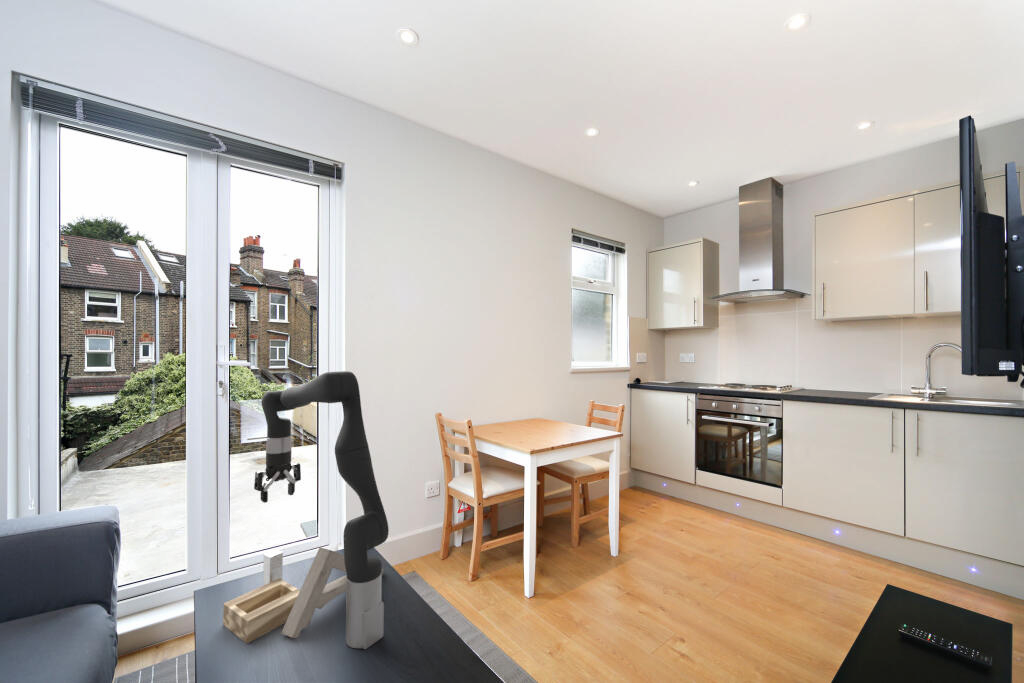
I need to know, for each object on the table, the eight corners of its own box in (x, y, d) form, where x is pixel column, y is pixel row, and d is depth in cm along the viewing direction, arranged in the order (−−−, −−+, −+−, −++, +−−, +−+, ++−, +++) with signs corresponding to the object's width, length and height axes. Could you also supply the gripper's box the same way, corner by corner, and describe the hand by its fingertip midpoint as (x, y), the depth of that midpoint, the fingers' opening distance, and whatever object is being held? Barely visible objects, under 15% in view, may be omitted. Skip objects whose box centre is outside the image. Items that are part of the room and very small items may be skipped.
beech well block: (303, 612, 127) (304, 592, 127) (247, 643, 113) (247, 621, 113) (279, 597, 134) (279, 578, 135) (223, 624, 121) (223, 603, 121)
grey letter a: (357, 644, 136) (292, 637, 114) (346, 640, 138) (280, 633, 116) (384, 569, 149) (330, 550, 126) (374, 566, 150) (319, 547, 128)
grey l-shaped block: (282, 592, 137) (282, 552, 137) (249, 608, 129) (250, 565, 129) (275, 588, 139) (276, 549, 140) (242, 603, 131) (243, 561, 131)
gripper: (262, 455, 133) (261, 507, 133) (305, 447, 145) (304, 494, 145) (250, 452, 138) (249, 502, 137) (293, 444, 149) (292, 490, 149)
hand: (278, 498), depth 141 cm, fingers open, 8 cm apart
